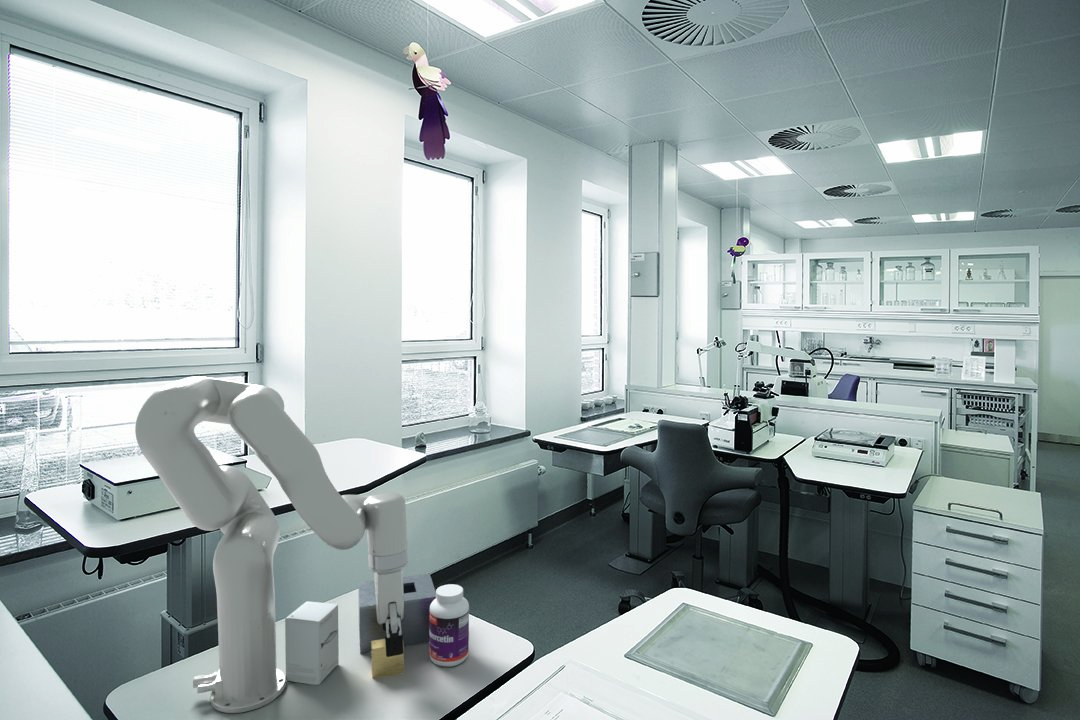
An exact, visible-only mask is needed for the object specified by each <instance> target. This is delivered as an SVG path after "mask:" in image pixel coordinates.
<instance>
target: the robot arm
mask: <svg viewBox="0 0 1080 720" xmlns="http://www.w3.org/2000/svg"><path fill="white" fill-rule="evenodd" d="M135 421H136V422H135V430H134V431H135V433H134V434H135V439H136V441H137V445H138V448H139V449H140V451H141V453H142V454H143V456H144V458H145V459H146V460H147V462H148V463H149V465H151V468H153V470H154V471H155V473H156V474H157V476H158V477H159V478H160V480H161V482H162V483H163V484H164V486H165V488H166V489H167V490H168V493H170V495H171V496H172V498H173V499H174V501H175V502H176V504H177V505H178V506H179V509H180V510H181V511H182V512H183V514H184V516H185V517H186V518H187V521H189V522H190V523H191V524H192V525H193V526H195V527H196V528H198V529H200V530H203V531H210V532H211V531H216V530H220V531H221V532H222V534H223V535H222V537H221V539H220V540H219V541H218V544H217V546H216V547H215V550H214V555H213V561H212V572H213V573H212V574H213V578H214V584H215V585H214V586H215V591H216V609H217V632H218V639H217V640H218V659H219V660H218V668H219V669H218V671H213V673H211V674H200V675H195V676H194V677H193V681H192V688H193V689H197V692H196V693H197V694H202V693H207V692H210V696H209V697H210V699H209V700H210V705H211V707H212V708H214V710H216V711H218V712H222V713H225V714H226V713H227V714H239V713H247V712H249V711H253V710H256V709H257V710H258V709H259V708H262V707H264V706H266V705H267V704H270V703H271V702H272V701H274V700H275V699H276V698H278V697H279V696H280V695H281V694H282V693H283V691H284V690H285V688H286V683H287V680H286V673H284V672H283V671H282V670H281V669H279V668H277V634H276V633H277V630H276V629H277V628H276V626H277V625H276V593H275V592H276V591H275V588H276V587H275V579H274V556H275V552H276V550H277V547H278V544H279V542H280V537H281V525H280V523H279V521H278V519H277V517H276V515H275V514H274V512H273V511H272V509H271V508H270V506H269V505H268V503H267V502H266V501H265V499H264V497H263V496H262V494H261V493H260V491H259V490H258V488H257V486H255V484H254V483H253V481H252V480H251V478H250V477H249V476H248V474H246V473H245V472H244V471H242V470H241V469H240V468H238V467H235V466H231V465H225V464H224V465H219V464H218V463H217V461H216V460H215V459H214V457H213V455H212V453H211V451H210V450H209V449H208V448H207V446H206V445H205V444H204V443H203V442H202V441H201V440H200V439H199V438H198V437H197V436H196V433H195V428H196V427H197V425H199V424H200V423H203V422H209V423H218V424H224V425H225V424H226V425H230V427H231V428H232V429H233V431H234V432H235V433H236V434H237V435H238V437H239V438H240V439H241V440H242V441H243V442H244V443H245V445H246V446H247V447H248V448H249V450H251V451H252V453H254V455H255V456H257V458H258V459H259V460H260V462H261V463H263V465H264V466H265V467H266V468H267V469H268V470H269V471H270V473H271V474H272V475H273V477H275V479H276V480H277V481H278V484H279V485H280V487H281V489H282V491H283V493H284V494H285V495H286V496H287V498H288V499H289V501H290V503H291V505H292V506H293V507H294V509H295V511H296V512H297V513H298V515H299V516H300V518H301V519H302V520H303V522H305V524H306V525H307V526H308V527H309V528H310V529H311V530H312V532H313V533H314V534H315V535H316V536H317V537H318V538H319V539H320V540H321V542H323V543H324V544H325V545H326V546H328V547H330V548H332V549H333V550H337V551H345V550H351V549H352V548H354V547H355V546H357V545H358V544H359V543H360V542H361V540H362V539H363V537H364V535H365V532H366V538H367V556H368V557H367V558H368V559H367V561H368V569H369V571H371V572H373V573H374V575H373V577H374V580H373V581H375V600H376V613H377V621H378V623H379V624H380V625H381V623H383V631H386V636H385V644H386V656H387V657H391V656H396V655H401V654H403V652H404V653H405V651H403V633H402V632H401V621H400V620H402V619H403V618H404V589H403V577H404V571H403V569H405V568H406V567H407V566H408V565H409V550H408V549H409V547H408V545H409V544H408V529H407V528H408V527H407V511H406V510H407V507H406V500H405V498H404V496H403V495H401V494H400V493H398V492H397V493H396V492H382V493H378V494H374V495H371V494H370V495H368V494H367V495H366V494H365V495H363V494H362V495H361V494H342V495H341V494H340V492H338V490H337V489H336V487H335V486H334V484H333V483H332V481H331V479H330V478H329V476H328V474H327V472H326V470H325V467H324V465H323V461H322V458H321V455H320V454H319V452H318V450H317V447H316V446H315V445H314V443H313V442H311V441H310V439H309V438H308V437H307V436H306V435H305V433H304V432H303V431H302V430H301V429H300V428H299V427H298V425H297V424H296V423H295V422H294V421H293V419H292V418H291V417H290V415H288V414H287V412H286V411H285V401H284V400H283V397H282V396H281V395H280V393H279V392H278V391H276V390H275V389H274V388H272V387H269V386H265V385H262V384H254V383H247V382H246V383H245V382H239V381H235V380H234V381H233V380H227V379H221V378H214V377H207V376H200V375H198V376H189V377H185V378H182V379H179V380H175V381H172V382H169V383H167V384H165V385H163V386H161V387H160V388H158V389H157V390H155V391H154V392H153V393H152V394H151V395H150V396H149V397H148V398H147V399H146V401H145V402H144V404H142V407H141V408H140V410H139V412H138V415H137V418H136V420H135Z"/></svg>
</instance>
